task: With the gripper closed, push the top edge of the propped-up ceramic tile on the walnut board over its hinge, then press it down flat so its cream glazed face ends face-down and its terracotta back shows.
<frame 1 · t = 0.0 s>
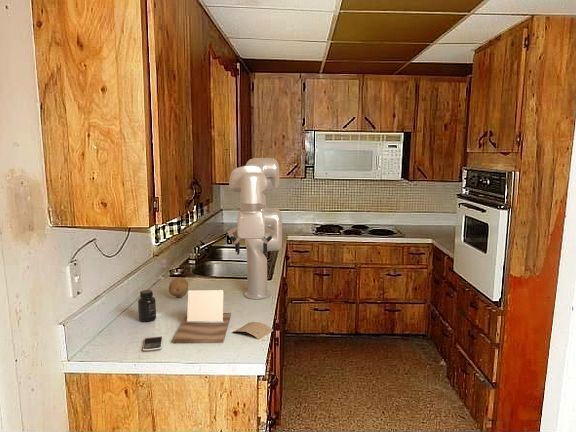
hand: (251, 253, 159), 31 cm above the worktop, tool pointing down, fingers open, 9 cm apart
natural sponge: (178, 298, 203), on the worktop
cell phone: (153, 346, 154), on the worktop
supplement bottle: (147, 320, 177), on the worktop
clay tablet: (252, 333, 166), on the worktop
walnut board: (204, 328, 168), on the worktop
ceramic tile: (205, 306, 171), point 8 cm above the worktop, hinge at 70.0°
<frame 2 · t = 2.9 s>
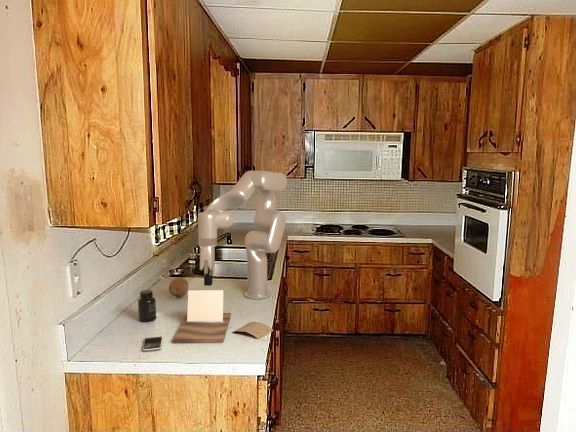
hand: (208, 284, 180), 14 cm above the worktop, tool pointing down, fingers closed
nothing on the worktop moved.
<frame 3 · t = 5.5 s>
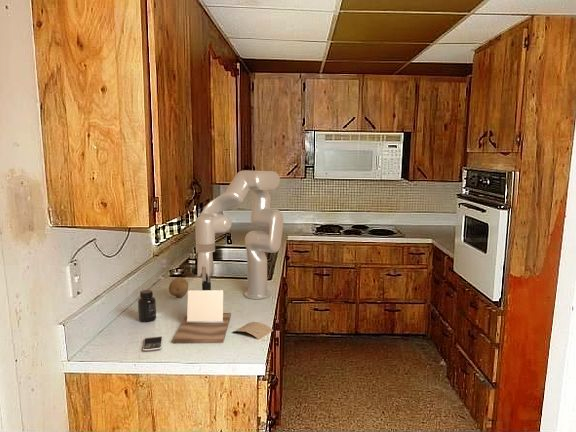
hand: (206, 291, 174), 12 cm above the worktop, tool pointing down, fingers closed
ceramic tile: (205, 306, 171), point 8 cm above the worktop, hinge at 72.4°, touching gripper
everything else where it was.
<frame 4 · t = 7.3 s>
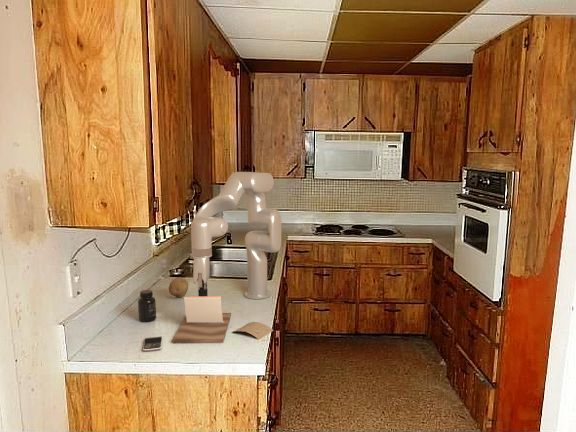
hand: (203, 298, 166), 12 cm above the worktop, tool pointing down, fingers closed
ceramic tile: (203, 310, 167), point 8 cm above the worktop, hinge at 109.6°, touching gripper
everything else where it was.
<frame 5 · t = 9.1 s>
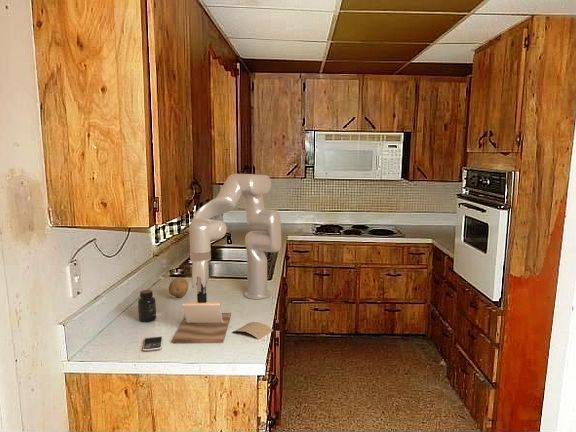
hand: (202, 302, 163), 12 cm above the worktop, tool pointing down, fingers closed
ceramic tile: (203, 313, 166), point 7 cm above the worktop, hinge at 125.7°, touching gripper
everything else where it was.
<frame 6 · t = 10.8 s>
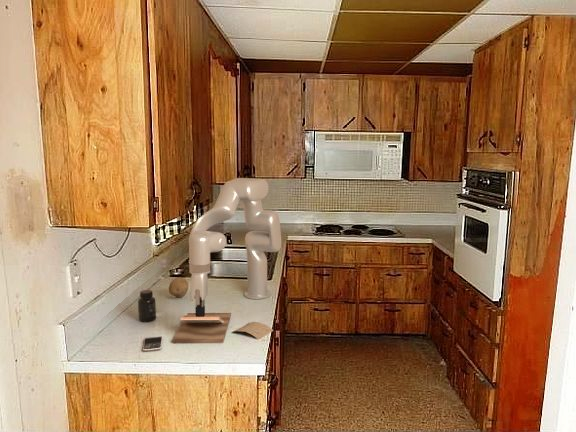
hand: (200, 316, 160), 8 cm above the worktop, tool pointing down, fingers closed
ceramic tile: (202, 320, 164), point 5 cm above the worktop, hinge at 151.9°, touching gripper
everything else where it was.
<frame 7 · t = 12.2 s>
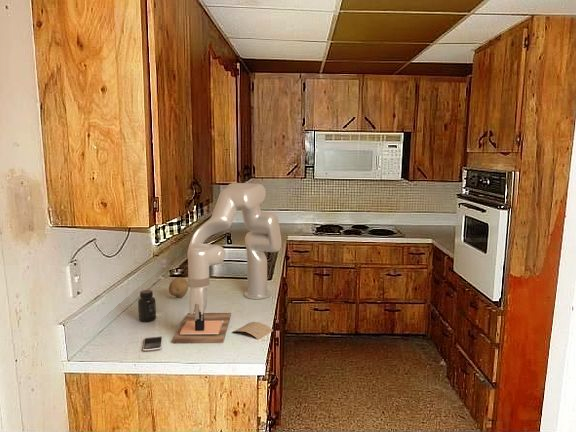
hand: (199, 329, 159), 3 cm above the worktop, tool pointing down, fingers closed
ceramic tile: (202, 326, 164), point 2 cm above the worktop, hinge at 176.4°, touching gripper
everything else where it was.
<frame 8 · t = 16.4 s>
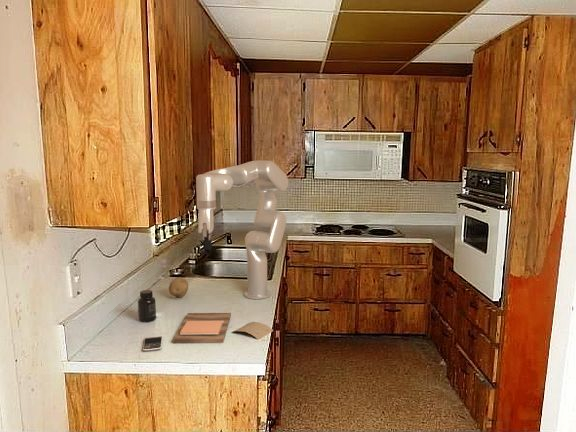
hand: (207, 249, 176), 29 cm above the worktop, tool pointing down, fingers closed
ceramic tile: (202, 327, 164), point 2 cm above the worktop, hinge at 176.7°
everything else where it was.
at the end: ceramic tile at +177° (first picture: +70°); clay tablet moved 0.9 cm from its start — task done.
